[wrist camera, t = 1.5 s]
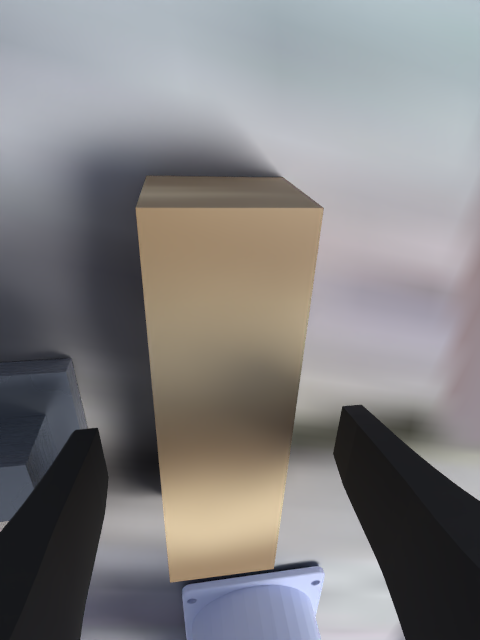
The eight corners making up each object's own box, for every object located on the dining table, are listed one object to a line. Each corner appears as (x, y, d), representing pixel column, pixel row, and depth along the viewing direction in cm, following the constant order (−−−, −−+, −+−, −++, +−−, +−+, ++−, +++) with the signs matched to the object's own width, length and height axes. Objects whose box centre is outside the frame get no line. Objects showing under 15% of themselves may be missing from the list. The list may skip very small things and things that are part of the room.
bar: (255, 482, 19) (273, 568, 15) (170, 491, 18) (170, 582, 15) (281, 175, 12) (323, 207, 9) (147, 173, 11) (135, 207, 8)
